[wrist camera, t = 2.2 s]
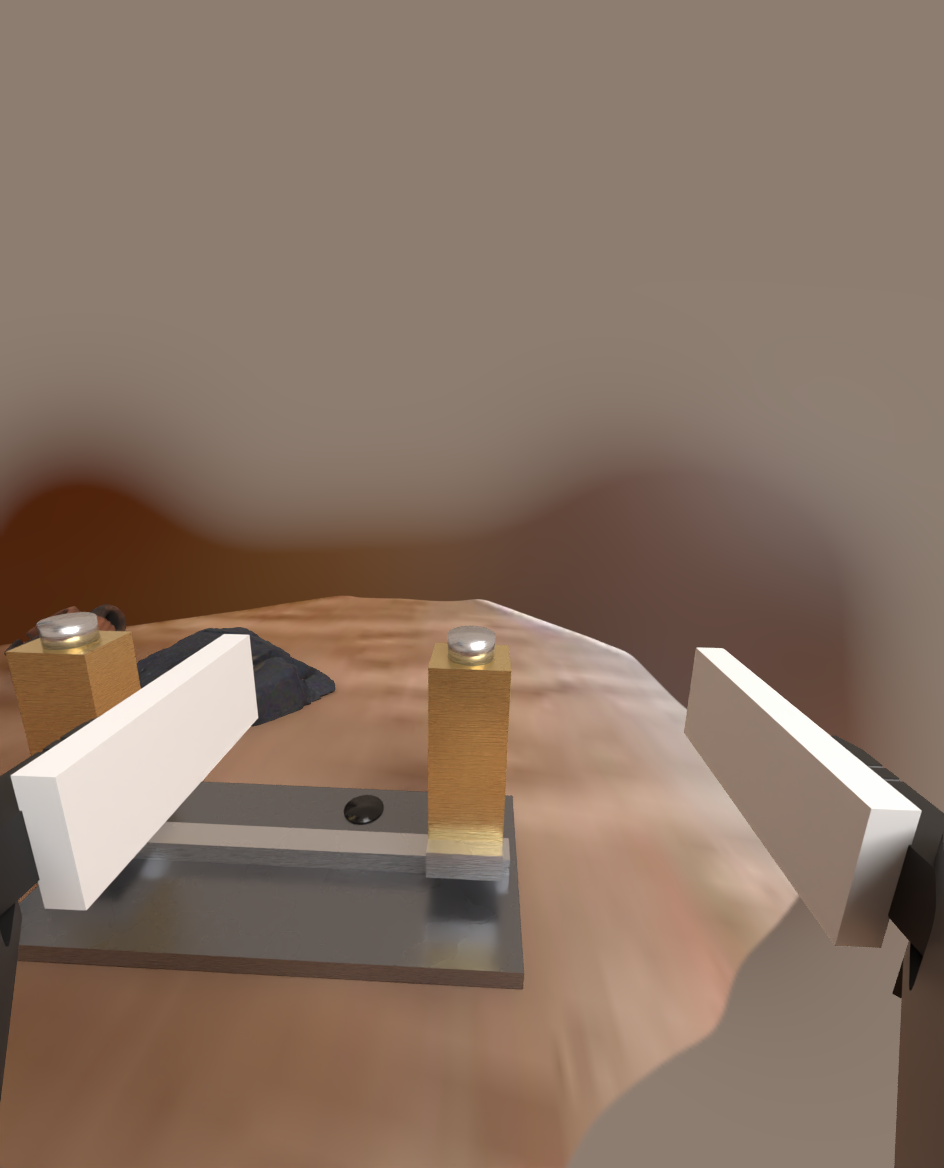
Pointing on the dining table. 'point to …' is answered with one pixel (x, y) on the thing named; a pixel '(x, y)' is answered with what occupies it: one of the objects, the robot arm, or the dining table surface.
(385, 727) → the dining table surface
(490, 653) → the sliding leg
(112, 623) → the brown crumpled piece
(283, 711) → the dark folded cloth
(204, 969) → the bolt plate
